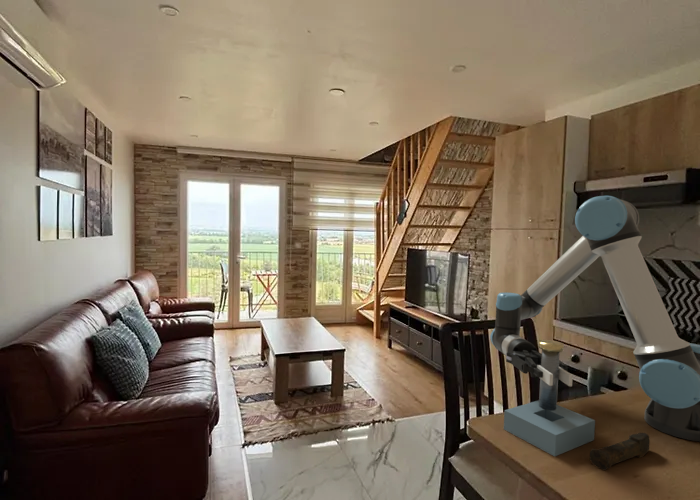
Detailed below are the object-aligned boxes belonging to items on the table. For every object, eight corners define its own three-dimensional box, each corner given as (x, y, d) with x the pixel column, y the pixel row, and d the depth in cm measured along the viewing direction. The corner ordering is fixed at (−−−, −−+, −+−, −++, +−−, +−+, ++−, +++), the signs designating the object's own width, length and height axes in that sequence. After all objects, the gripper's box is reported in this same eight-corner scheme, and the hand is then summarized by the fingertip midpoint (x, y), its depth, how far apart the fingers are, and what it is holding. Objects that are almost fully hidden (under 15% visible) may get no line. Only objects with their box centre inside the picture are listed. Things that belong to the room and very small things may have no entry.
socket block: (594, 440, 97) (595, 420, 97) (554, 456, 89) (555, 435, 89) (542, 416, 109) (543, 398, 109) (503, 429, 101) (504, 410, 101)
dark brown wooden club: (605, 473, 84) (607, 452, 83) (588, 463, 87) (589, 443, 87) (661, 457, 91) (662, 437, 91) (642, 448, 94) (644, 429, 94)
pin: (564, 409, 98) (568, 344, 98) (551, 413, 96) (554, 347, 95) (544, 400, 103) (547, 338, 102) (530, 404, 100) (534, 341, 100)
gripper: (547, 364, 117) (595, 397, 94) (490, 362, 117) (524, 394, 94) (548, 339, 117) (597, 366, 93) (491, 337, 117) (526, 363, 93)
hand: (560, 380), depth 93 cm, fingers closed on pin, 4 cm apart
